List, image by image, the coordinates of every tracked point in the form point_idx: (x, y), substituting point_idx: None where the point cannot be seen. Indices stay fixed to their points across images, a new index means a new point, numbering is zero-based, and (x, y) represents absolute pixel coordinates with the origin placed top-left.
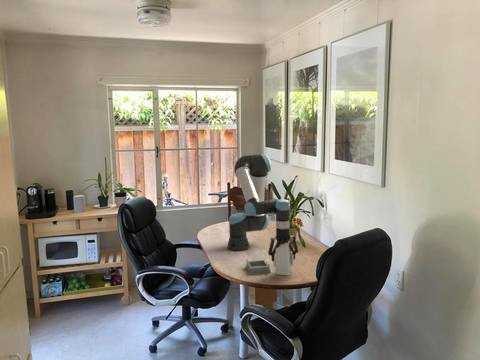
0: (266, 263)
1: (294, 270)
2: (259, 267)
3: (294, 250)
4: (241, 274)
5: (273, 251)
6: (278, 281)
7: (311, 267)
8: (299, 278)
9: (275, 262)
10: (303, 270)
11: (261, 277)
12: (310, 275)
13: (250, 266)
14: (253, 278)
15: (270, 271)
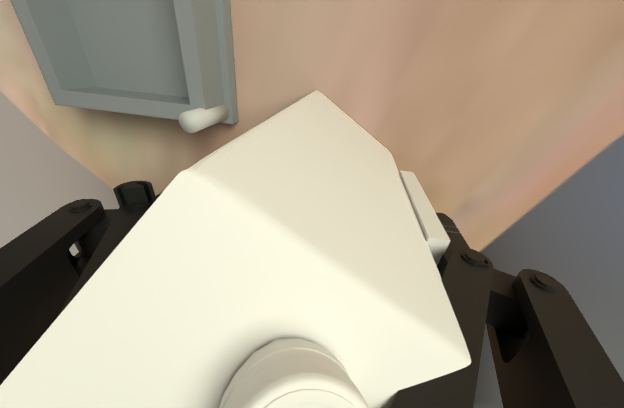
0: (185, 27)
1: (421, 151)
2: (123, 112)
3: (501, 296)
4: (37, 73)
5: None
6: None
7: (600, 147)
8: None
9: None
10: (484, 177)
11: (172, 171)
12: None
13: (41, 54)
14: (126, 166)
15: (232, 122)
